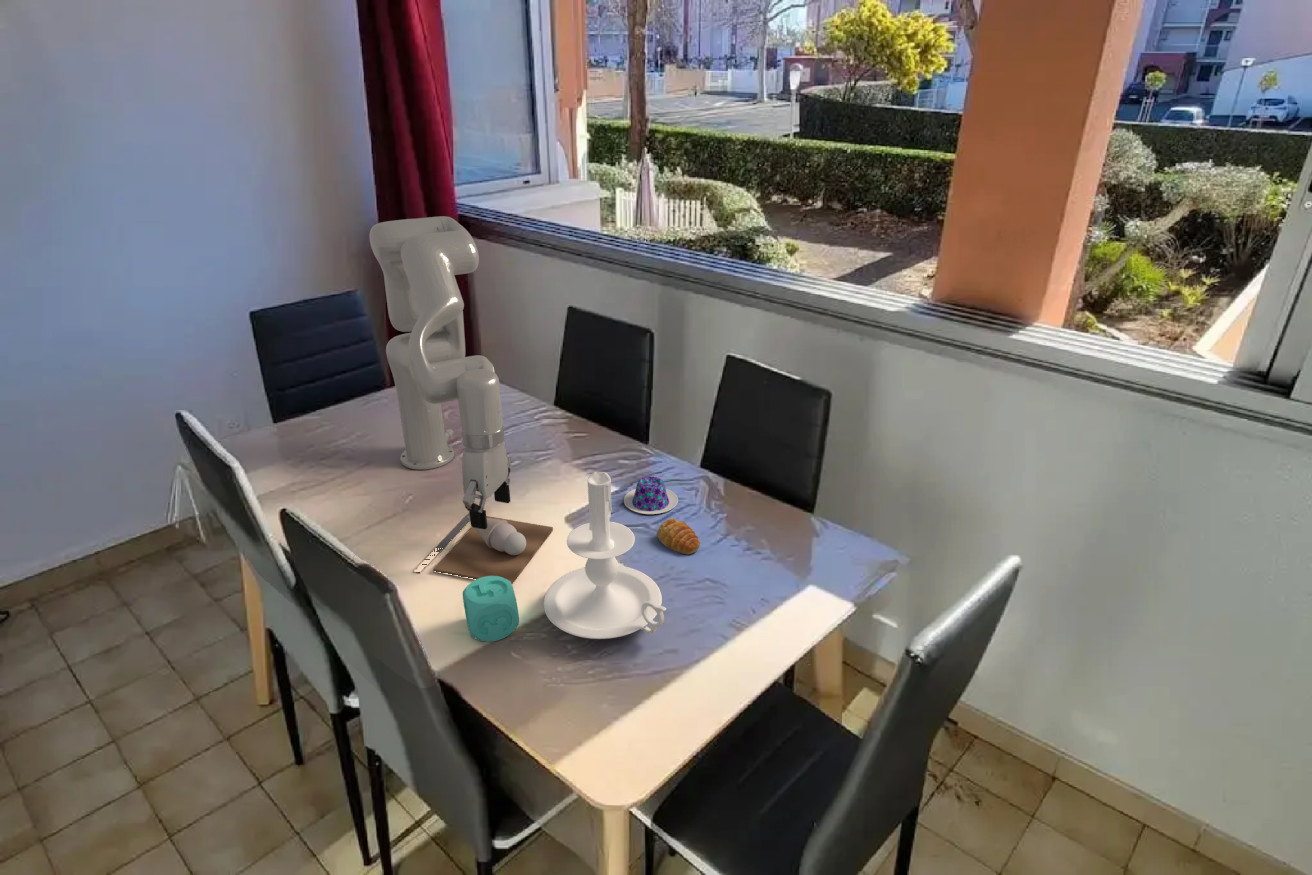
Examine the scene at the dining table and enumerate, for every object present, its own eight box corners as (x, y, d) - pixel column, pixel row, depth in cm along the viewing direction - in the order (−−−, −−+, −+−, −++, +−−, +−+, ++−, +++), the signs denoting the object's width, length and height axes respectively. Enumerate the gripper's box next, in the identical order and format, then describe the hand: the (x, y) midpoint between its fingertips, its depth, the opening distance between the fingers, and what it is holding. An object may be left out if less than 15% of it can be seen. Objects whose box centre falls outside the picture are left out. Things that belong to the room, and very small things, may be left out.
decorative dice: (465, 618, 138) (460, 581, 134) (510, 607, 140) (507, 570, 137) (473, 647, 131) (468, 608, 127) (520, 635, 134) (517, 597, 130)
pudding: (621, 516, 168) (620, 495, 166) (626, 488, 179) (625, 468, 177) (677, 517, 168) (677, 496, 165) (678, 489, 178) (679, 469, 176)
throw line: (469, 513, 169) (469, 512, 168) (476, 514, 168) (475, 513, 168) (413, 572, 150) (413, 570, 149) (420, 573, 149) (420, 572, 149)
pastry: (708, 548, 157) (709, 532, 156) (682, 561, 153) (682, 544, 152) (678, 528, 164) (678, 512, 162) (652, 540, 160) (652, 524, 158)
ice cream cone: (467, 531, 160) (523, 564, 154) (450, 527, 155) (508, 561, 149) (481, 504, 161) (537, 536, 155) (465, 499, 155) (523, 532, 149)
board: (483, 518, 167) (482, 515, 166) (552, 530, 163) (552, 527, 162) (433, 572, 150) (433, 568, 149) (510, 587, 145) (509, 583, 145)
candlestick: (621, 684, 123) (618, 534, 111) (520, 616, 138) (507, 476, 126) (703, 620, 137) (708, 480, 125) (603, 564, 152) (599, 434, 139)
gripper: (486, 414, 153) (494, 489, 161) (440, 454, 138) (451, 535, 146) (522, 419, 151) (527, 495, 159) (479, 460, 137) (488, 541, 144)
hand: (491, 514), depth 153 cm, fingers open, 9 cm apart
